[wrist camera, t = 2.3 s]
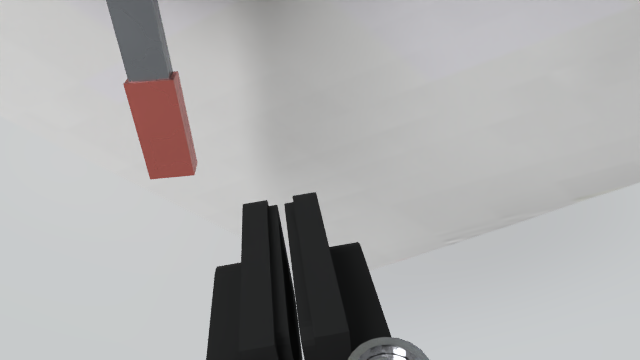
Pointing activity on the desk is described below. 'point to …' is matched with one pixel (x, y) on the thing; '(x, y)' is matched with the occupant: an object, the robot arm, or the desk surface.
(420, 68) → the desk surface
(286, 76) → the desk surface
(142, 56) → the lever
